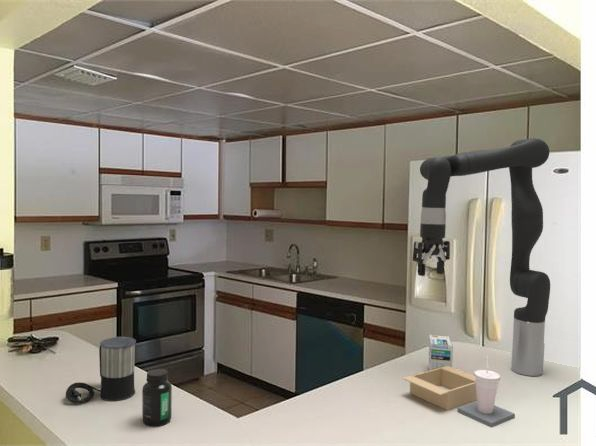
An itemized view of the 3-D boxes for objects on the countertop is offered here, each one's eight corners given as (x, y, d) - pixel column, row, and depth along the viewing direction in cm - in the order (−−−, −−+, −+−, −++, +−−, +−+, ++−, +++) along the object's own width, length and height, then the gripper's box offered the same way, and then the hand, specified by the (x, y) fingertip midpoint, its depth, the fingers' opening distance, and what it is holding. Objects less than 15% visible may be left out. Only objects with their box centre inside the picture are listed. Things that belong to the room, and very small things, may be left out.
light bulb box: (452, 380, 151) (453, 345, 150) (429, 377, 152) (431, 343, 152) (448, 368, 161) (450, 335, 161) (427, 366, 163) (428, 334, 162)
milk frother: (143, 392, 136) (143, 339, 135) (95, 414, 122) (96, 355, 121) (106, 382, 142) (106, 332, 141) (58, 401, 128) (57, 346, 127)
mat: (480, 403, 134) (480, 399, 134) (514, 417, 126) (514, 413, 126) (457, 411, 128) (457, 407, 128) (491, 427, 120) (491, 423, 120)
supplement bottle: (171, 425, 117) (172, 376, 116) (141, 428, 115) (142, 378, 114) (170, 413, 123) (171, 366, 123) (142, 416, 121) (142, 368, 121)
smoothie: (497, 407, 129) (500, 355, 128) (499, 417, 123) (502, 363, 122) (472, 403, 131) (474, 352, 130) (472, 413, 125) (474, 359, 124)
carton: (447, 381, 149) (447, 365, 149) (485, 397, 138) (486, 379, 138) (401, 395, 138) (402, 377, 138) (439, 413, 127) (440, 394, 127)
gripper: (426, 223, 144) (424, 278, 144) (458, 222, 152) (455, 274, 153) (407, 222, 150) (405, 274, 151) (438, 221, 158) (436, 271, 159)
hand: (430, 274), depth 152 cm, fingers open, 8 cm apart
